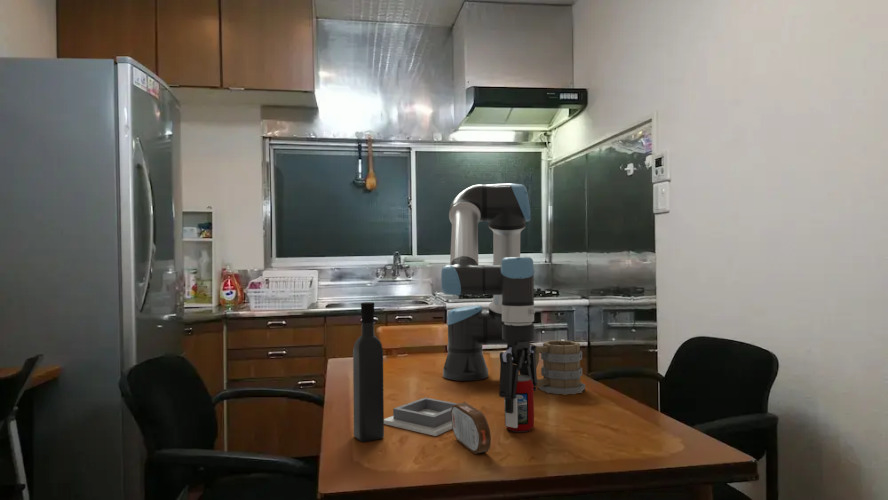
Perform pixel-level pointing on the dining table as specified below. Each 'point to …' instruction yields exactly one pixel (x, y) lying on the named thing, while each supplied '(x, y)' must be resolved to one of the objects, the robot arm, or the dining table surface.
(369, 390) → the wine bottle
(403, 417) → the tray
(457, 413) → the tin
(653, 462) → the dining table surface
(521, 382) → the beverage can
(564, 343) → the tankard
